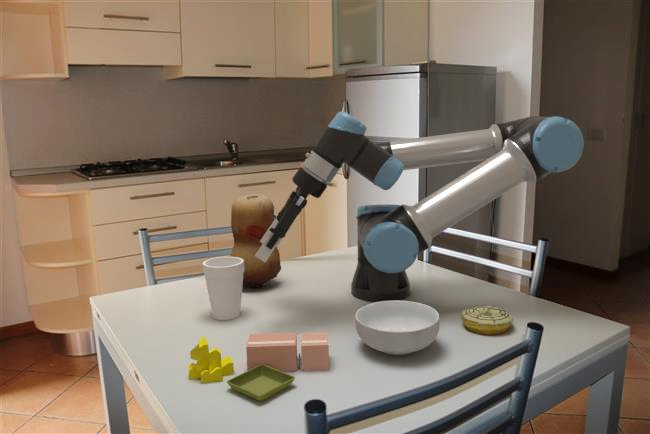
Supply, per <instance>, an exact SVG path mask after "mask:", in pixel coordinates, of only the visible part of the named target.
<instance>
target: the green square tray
mask: <svg viewBox="0 0 650 434" xmlns="http://www.w3.org/2000/svg"><path fill="white" fill-rule="evenodd" d="M295 379H296V377H295V376H294V375H291V374H290V373H286V372H285V371H279V370H276V369H274V368H272V367H269V366H267V365H264V364H263V365H259V366H257V367H255V368H253V369H251V370H249V371H248V370H246V371H244V372H243V373H240V374H238V375H236V376H234V377H232V378H230V379H227V380H226V383H227V385H228V386H229V387H230V388H232V389H233V390H234V391H237V393H240V394H242V395H245V396H247V397H249V398H252V399H253V400H256V401H258V402H263V401H264V400H266V399H268V398H270V397H272V396H274V395H276V394H277V393H280V392H282V391H284V390H285V389H287V388H289V386H290V385H291V384H292V383H293V382H294V381H295Z"/></svg>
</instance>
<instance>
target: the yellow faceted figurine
mask: <svg viewBox="0 0 650 434" xmlns="http://www.w3.org/2000/svg"><path fill="white" fill-rule="evenodd" d="M221 351H222V350H221V349H219V348H217V347H215V348H213V349H211V350H209V341H208V340H207V339H206V337H204V336H202V337H201V338H200V339H199V340H198V344H197V345H196V346H194V347H193V348H192V349H191V350H190V353H189V355H190V359H191V360H194V361H197V362H196V363H195V362H194V363H193V362H192V363H190V364H188V380H194V379H195V380H196V379H200V383H201V384H207V383H215V382H223V376H227V375H229V376H230V375H234V373H235V371H234V370H235V369H234V360H233V359H232V358H231V356H230V355H229V354H227V355H226V356H225V357H223V359H222V353H221Z"/></svg>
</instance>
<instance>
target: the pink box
mask: <svg viewBox="0 0 650 434" xmlns="http://www.w3.org/2000/svg"><path fill="white" fill-rule="evenodd" d="M328 334H329V333H328V331H327V332H301V337H300V338H301V339H300V341H301V342H300V343H301V344H300V347H301V349H300V350H301V352H300V356H301V372H304V371H307V372H308V371H309V372H310V371H311V372H312V371H329V370H330V360H329V359H330V355H329V353H330V352H329V351H330V349H329V335H328Z"/></svg>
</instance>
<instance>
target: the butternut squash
mask: <svg viewBox="0 0 650 434" xmlns="http://www.w3.org/2000/svg"><path fill="white" fill-rule="evenodd" d="M230 215H231V220H230V224H231V225H230V227H231V232H232V237H233V247H232V250H231V253H230V255H229V257H239V258H242V259H243V260H244V273H243V285H247V286H248V287H249V288H257V287H263V286H264V285H266V284H267V283H269V282H270V281H271V280H273V279H275V278H277V276H278V275H279V273H280V272H281V270H282V265H281V258H280V253H279V252H280V251H279V249H278V247H277V246H278V245H277V246H276V248H275V249H274V251H273V252H272V254H271V255H270V257H269V258H268V259H267V261H266V262H263V261H262V260H260V259H259V258H257V257H256V256H255V255H256V253H257V252H258V250H259V249H260V247H261V246H262V244H263V243H261V242H260V240H261V239H262V238H263V236H264V235H265V233H266V232H267V230H268V229H269V227H270V226H271V224H272V223H273V221H274V220H275V219H276V218H275V206H274V204H273V201H272V200H271V199H270V197H268V196H266V195H264V194H261V193H257V194H256V193H251V194H245V195H242V196H239V197H237V198H236V199H235V200H234V201H233V202H232V205H231V213H230Z"/></svg>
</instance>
